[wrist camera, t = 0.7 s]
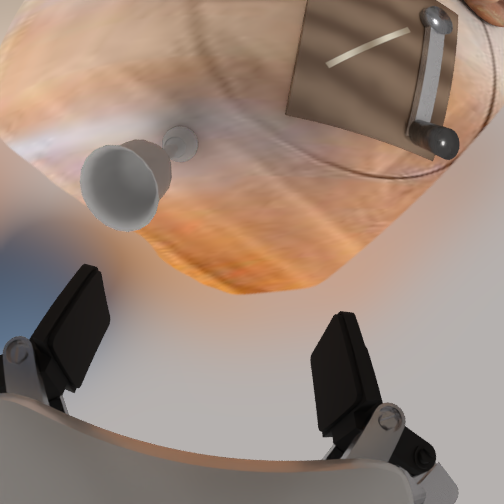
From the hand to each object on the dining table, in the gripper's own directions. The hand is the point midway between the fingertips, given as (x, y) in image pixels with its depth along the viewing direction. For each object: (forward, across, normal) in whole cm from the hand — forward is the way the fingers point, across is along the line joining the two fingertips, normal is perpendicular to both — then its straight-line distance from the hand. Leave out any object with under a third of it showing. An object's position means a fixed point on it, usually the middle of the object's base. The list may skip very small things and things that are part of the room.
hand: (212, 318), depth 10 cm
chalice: (+28, +9, 0) cm, 30 cm away
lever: (+26, -20, -19) cm, 38 cm away
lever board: (+28, -14, -20) cm, 37 cm away
